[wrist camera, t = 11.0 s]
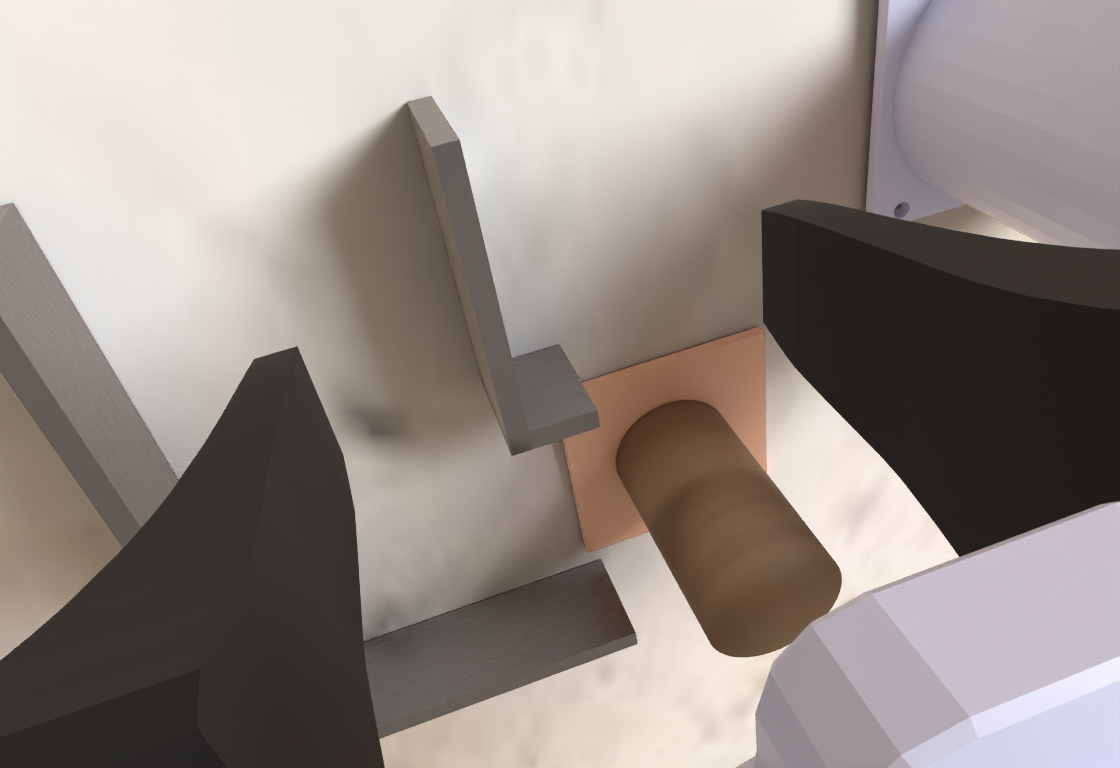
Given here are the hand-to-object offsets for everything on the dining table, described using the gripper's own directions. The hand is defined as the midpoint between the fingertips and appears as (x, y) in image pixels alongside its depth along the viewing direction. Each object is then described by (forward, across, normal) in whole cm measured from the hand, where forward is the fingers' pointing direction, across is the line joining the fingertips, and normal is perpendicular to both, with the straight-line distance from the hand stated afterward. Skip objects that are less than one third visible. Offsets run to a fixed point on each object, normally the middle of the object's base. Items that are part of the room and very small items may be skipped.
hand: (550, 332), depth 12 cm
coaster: (+10, -5, +12) cm, 16 cm away
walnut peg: (+10, -5, +12) cm, 16 cm away
